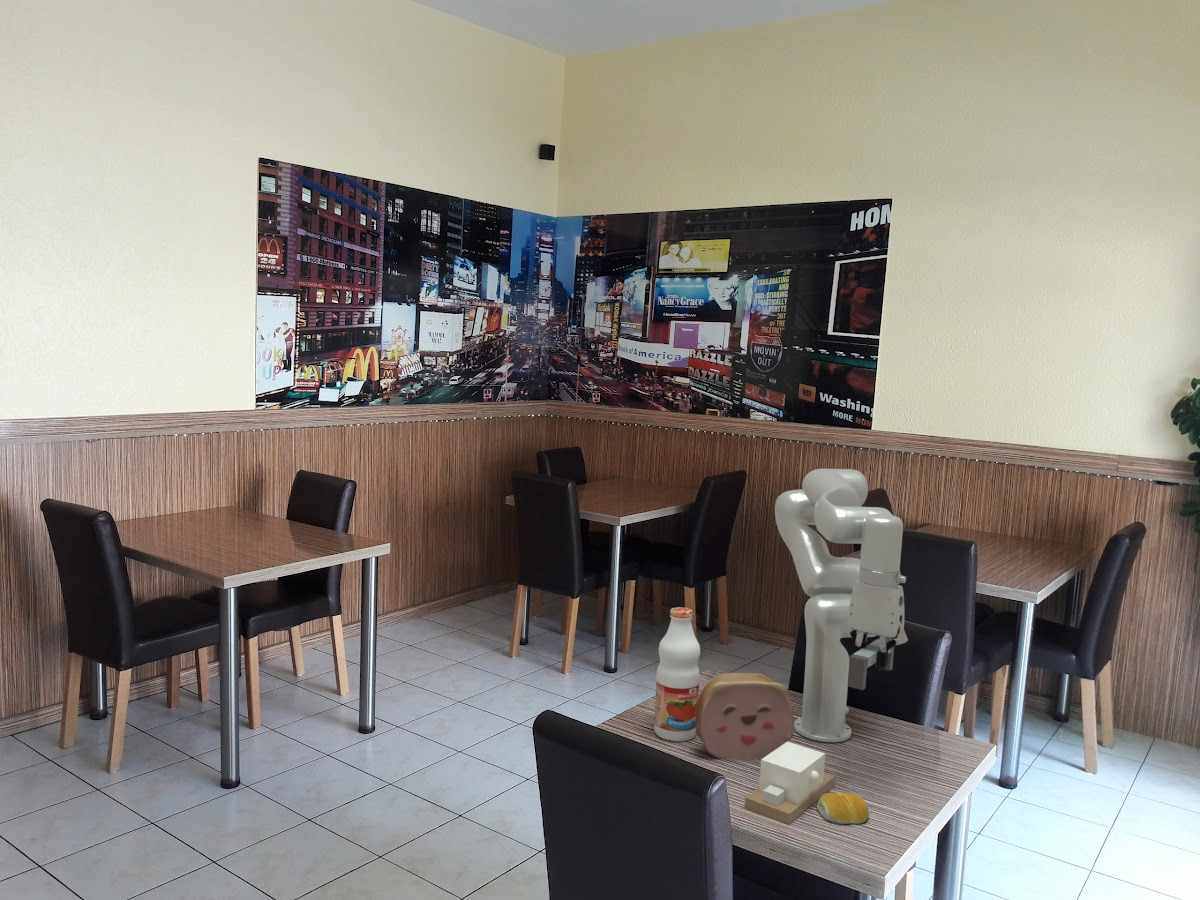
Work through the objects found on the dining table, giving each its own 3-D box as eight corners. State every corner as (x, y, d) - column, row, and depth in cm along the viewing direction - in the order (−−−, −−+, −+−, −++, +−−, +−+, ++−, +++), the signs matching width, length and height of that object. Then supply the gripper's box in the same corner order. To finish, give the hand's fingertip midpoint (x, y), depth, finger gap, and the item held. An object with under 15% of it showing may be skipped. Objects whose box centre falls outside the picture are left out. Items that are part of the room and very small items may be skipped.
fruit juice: (677, 722, 211) (684, 602, 208) (705, 737, 204) (712, 612, 201) (645, 730, 206) (651, 607, 203) (671, 746, 198) (678, 618, 195)
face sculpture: (698, 761, 191) (702, 683, 190) (691, 747, 198) (695, 671, 196) (792, 760, 194) (797, 683, 192) (782, 746, 200) (787, 671, 199)
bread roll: (875, 825, 169) (877, 804, 168) (829, 827, 167) (830, 806, 167) (855, 803, 177) (856, 782, 176) (811, 805, 175) (812, 785, 175)
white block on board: (792, 771, 188) (795, 734, 187) (838, 787, 182) (841, 748, 182) (744, 807, 172) (747, 766, 172) (792, 825, 167) (795, 783, 166)
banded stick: (878, 665, 192) (880, 637, 192) (892, 669, 190) (894, 640, 190) (847, 686, 180) (849, 656, 179) (862, 690, 178) (864, 659, 177)
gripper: (926, 581, 181) (918, 672, 183) (846, 566, 191) (840, 653, 193) (913, 588, 175) (905, 682, 177) (831, 572, 185) (825, 661, 187)
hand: (871, 666), depth 185 cm, fingers closed on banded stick, 3 cm apart
